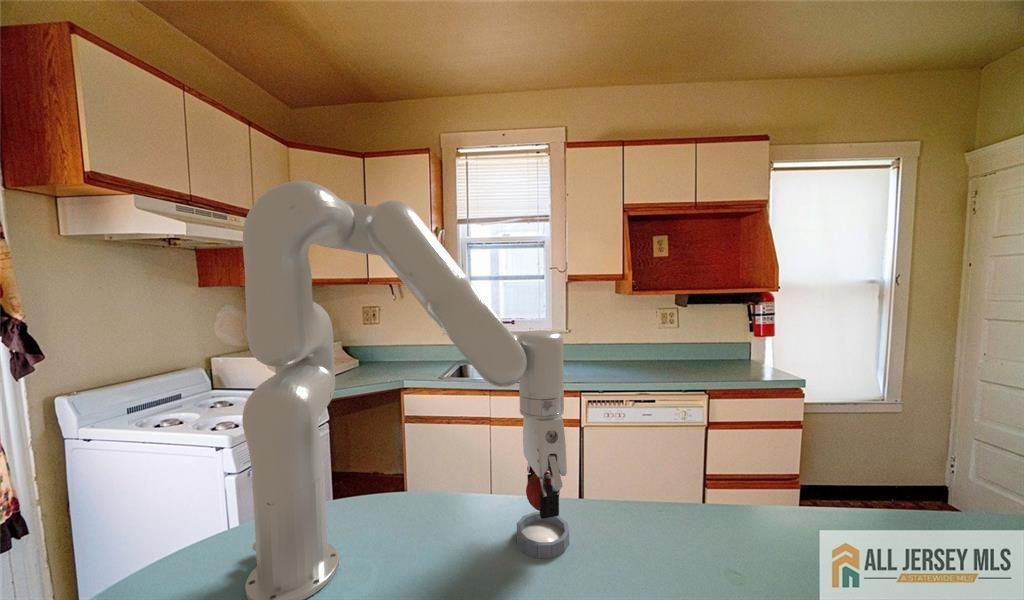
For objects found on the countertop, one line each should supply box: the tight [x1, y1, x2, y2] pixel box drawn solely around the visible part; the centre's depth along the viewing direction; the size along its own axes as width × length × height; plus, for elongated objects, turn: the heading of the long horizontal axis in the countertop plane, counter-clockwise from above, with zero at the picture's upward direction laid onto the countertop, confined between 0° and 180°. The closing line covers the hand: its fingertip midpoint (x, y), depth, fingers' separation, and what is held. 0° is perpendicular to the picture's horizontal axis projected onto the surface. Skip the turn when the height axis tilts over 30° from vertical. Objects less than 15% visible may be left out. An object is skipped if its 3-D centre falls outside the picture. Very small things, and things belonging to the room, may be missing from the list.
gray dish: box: [516, 511, 570, 559], centre depth 69 cm, size 9×9×2 cm
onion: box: [525, 471, 551, 512], centre depth 68 cm, size 6×6×8 cm
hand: (542, 504), depth 68 cm, fingers closed on onion, 5 cm apart
